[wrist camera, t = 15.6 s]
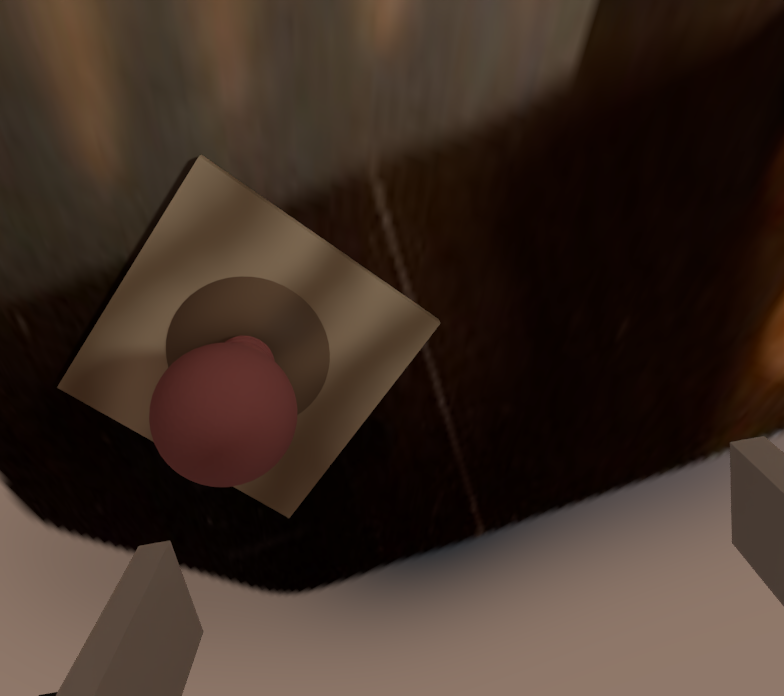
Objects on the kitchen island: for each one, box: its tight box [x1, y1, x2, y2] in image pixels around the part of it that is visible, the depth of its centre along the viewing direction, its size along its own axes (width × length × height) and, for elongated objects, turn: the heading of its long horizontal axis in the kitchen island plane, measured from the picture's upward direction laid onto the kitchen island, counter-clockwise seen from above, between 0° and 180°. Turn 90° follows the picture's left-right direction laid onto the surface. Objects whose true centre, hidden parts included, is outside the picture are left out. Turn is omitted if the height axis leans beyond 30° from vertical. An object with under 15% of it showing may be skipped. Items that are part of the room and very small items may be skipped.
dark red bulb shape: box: [149, 336, 297, 487], centre depth 35 cm, size 7×7×12 cm
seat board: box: [57, 155, 440, 518], centre depth 41 cm, size 17×17×1 cm
